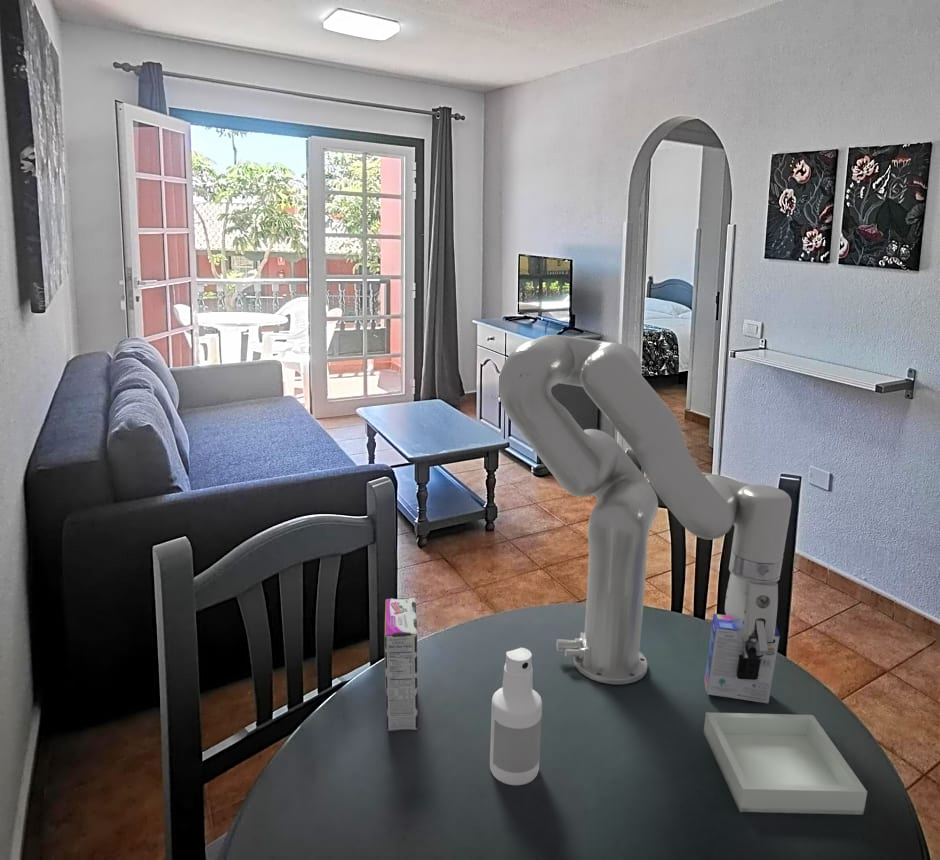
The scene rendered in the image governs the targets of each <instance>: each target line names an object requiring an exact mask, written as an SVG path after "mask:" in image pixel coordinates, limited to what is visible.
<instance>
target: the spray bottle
mask: <svg viewBox="0 0 940 860" xmlns="http://www.w3.org/2000/svg"><path fill="white" fill-rule="evenodd" d="M532 657H533V655H532V652H531V651H530V649H528V648H525V647H519V648H516V649H512V650H508V651H506V655H505V663H504V666H503V679H502V687H500V688H499V689H498V690H495V692H494V693H493V695H492V698H491V720H490V721H491V723H490V724H491V725H490V748H489V750H490V752H489V770H490V772H491V774H492V775H493V777H494V778H495V779H497V781H499V782H500V783H503V784H505V785H508V786H509V785H510V786H522V785H528V784H529V783H531V782H532V781H534V779H536V777H537V776H538V774H539V770H540V753H541V737H542V736H541V735H542V733H541V731H542V715H543V713H542V712H543V701H542V697H541V696H540V694H539V693H538V692H537V691H536V690H535V689H533V688H534V683H533V673H534V669H533V665H532V662H533V661H532V659H533V658H532Z"/></svg>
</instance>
